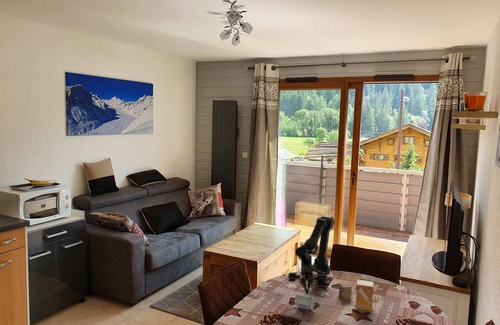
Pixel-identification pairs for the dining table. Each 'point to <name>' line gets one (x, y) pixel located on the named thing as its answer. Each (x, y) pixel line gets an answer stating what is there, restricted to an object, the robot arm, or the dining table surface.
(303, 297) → the medicine box
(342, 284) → the olive beige block
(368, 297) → the small box
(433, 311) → the dining table surface
